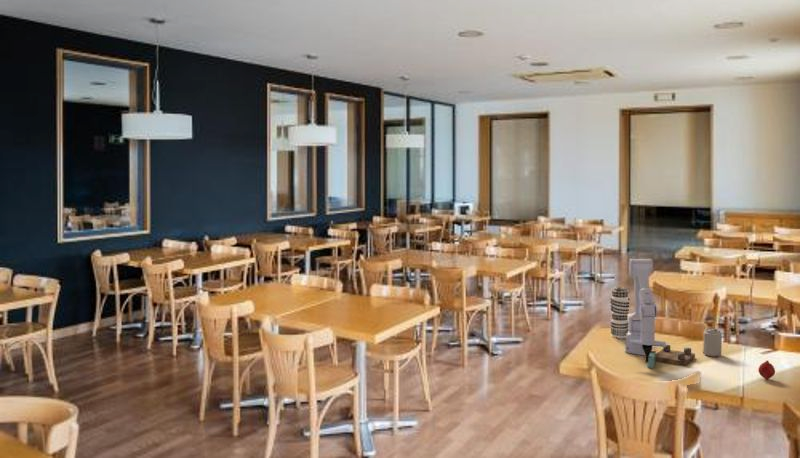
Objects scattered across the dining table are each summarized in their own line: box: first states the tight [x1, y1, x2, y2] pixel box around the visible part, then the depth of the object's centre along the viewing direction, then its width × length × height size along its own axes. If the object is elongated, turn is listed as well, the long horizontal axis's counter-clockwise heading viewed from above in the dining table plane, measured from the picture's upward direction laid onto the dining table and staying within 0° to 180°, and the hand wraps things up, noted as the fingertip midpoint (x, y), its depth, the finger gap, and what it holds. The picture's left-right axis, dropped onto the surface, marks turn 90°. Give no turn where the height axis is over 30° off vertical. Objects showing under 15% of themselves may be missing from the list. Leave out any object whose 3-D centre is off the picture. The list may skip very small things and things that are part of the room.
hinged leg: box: [647, 350, 657, 369], centre depth 290 cm, size 11×2×4 cm, turn 154°
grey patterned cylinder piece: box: [609, 285, 631, 339], centre depth 336 cm, size 9×9×25 cm
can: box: [702, 327, 723, 358], centre depth 301 cm, size 8×8×12 cm
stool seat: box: [656, 344, 696, 367], centre depth 296 cm, size 14×14×4 cm
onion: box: [757, 360, 776, 381], centre depth 267 cm, size 6×6×8 cm
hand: (647, 362), depth 289 cm, fingers closed, pressing on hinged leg
